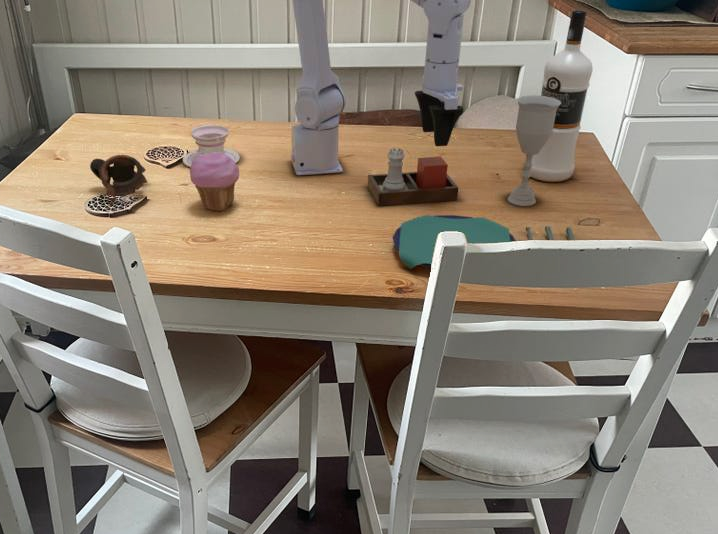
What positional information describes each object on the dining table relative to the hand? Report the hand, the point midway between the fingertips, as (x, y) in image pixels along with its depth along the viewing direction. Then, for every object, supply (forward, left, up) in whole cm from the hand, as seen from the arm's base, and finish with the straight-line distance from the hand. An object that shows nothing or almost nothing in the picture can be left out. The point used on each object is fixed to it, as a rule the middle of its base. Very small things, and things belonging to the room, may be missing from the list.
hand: (434, 138), depth 132 cm
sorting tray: (-4, 0, -10) cm, 11 cm away
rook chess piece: (-7, 0, -10) cm, 12 cm away
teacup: (-40, +25, -11) cm, 48 cm away
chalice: (+16, -6, -11) cm, 20 cm away
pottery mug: (-58, +11, -11) cm, 60 cm away
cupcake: (-40, +1, -11) cm, 42 cm away
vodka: (+26, +5, -11) cm, 28 cm away
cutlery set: (+2, -25, -11) cm, 28 cm away
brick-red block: (0, 0, -10) cm, 10 cm away
